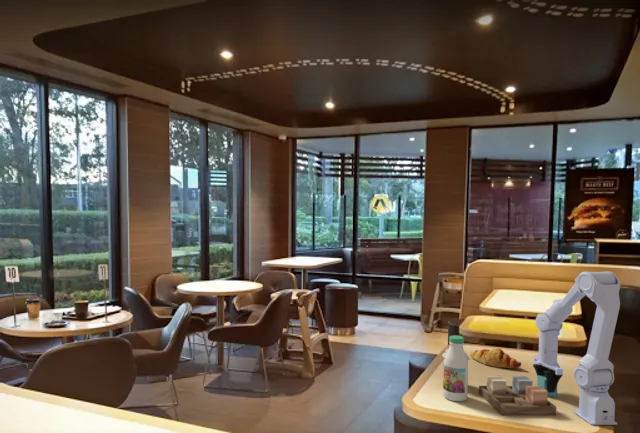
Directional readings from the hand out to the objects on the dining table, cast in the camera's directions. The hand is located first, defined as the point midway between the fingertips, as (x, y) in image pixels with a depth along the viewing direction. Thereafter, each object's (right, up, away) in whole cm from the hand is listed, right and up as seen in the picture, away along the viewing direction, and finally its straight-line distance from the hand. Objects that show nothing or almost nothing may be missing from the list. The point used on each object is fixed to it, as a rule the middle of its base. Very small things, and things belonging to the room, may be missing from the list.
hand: (546, 388), depth 158 cm
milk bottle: (-33, -1, -5) cm, 33 cm away
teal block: (0, -2, 0) cm, 2 cm away
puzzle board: (-14, -1, -9) cm, 17 cm away
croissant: (-6, -2, +31) cm, 31 cm away
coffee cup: (-29, -1, +6) cm, 30 cm away
